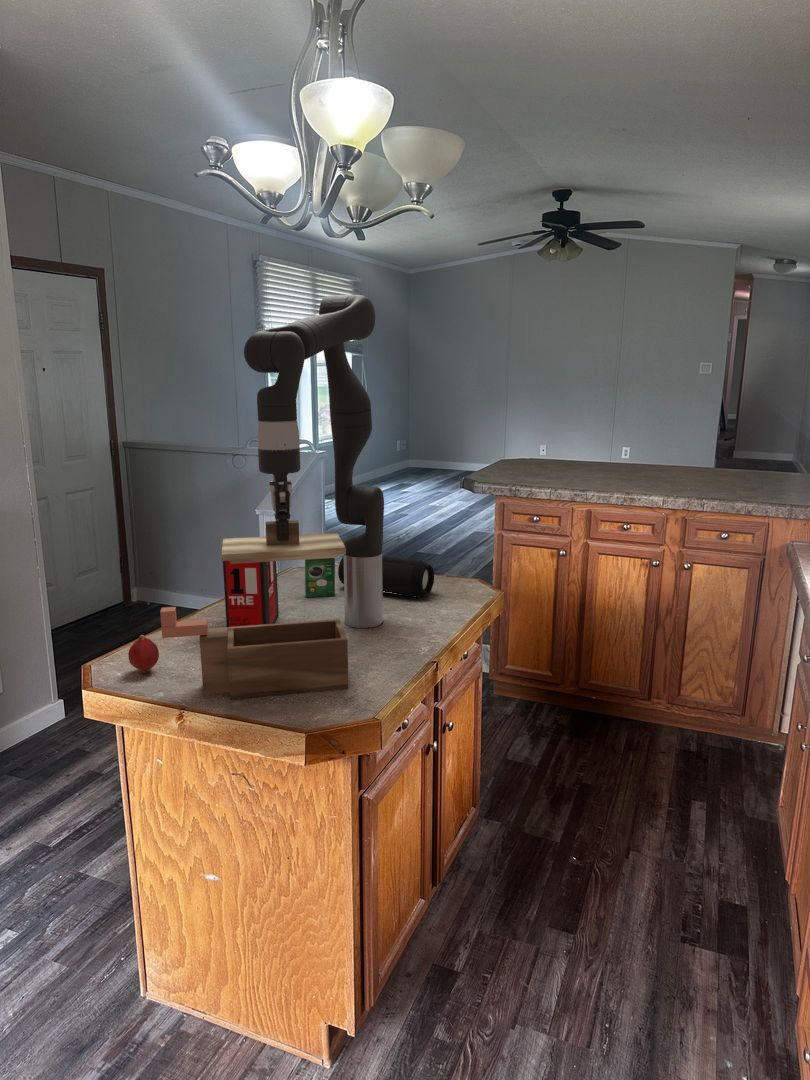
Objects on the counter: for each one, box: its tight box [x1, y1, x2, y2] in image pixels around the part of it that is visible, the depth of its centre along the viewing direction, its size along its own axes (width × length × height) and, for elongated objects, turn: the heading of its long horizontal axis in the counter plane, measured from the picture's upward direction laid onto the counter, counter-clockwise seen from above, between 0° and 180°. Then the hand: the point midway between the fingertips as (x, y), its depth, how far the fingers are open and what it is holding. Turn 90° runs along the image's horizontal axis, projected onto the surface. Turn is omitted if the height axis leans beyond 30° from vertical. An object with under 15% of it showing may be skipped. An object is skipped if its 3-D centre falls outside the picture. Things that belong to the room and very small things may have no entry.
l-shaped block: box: [159, 606, 209, 639], centre depth 136 cm, size 3×8×5 cm, turn 102°
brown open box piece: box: [199, 618, 349, 701], centre depth 141 cm, size 12×27×11 cm, turn 102°
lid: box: [221, 519, 346, 564], centre depth 136 cm, size 13×22×6 cm, turn 102°
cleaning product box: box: [222, 561, 280, 627], centre depth 171 cm, size 16×9×20 cm, turn 0°
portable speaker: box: [337, 555, 435, 598], centre depth 200 cm, size 26×10×10 cm, turn 64°
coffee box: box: [304, 558, 336, 598], centre depth 196 cm, size 8×3×13 cm, turn 102°
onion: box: [128, 634, 160, 674], centre depth 147 cm, size 6×6×8 cm
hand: (282, 538), depth 136 cm, fingers closed on lid, 2 cm apart
